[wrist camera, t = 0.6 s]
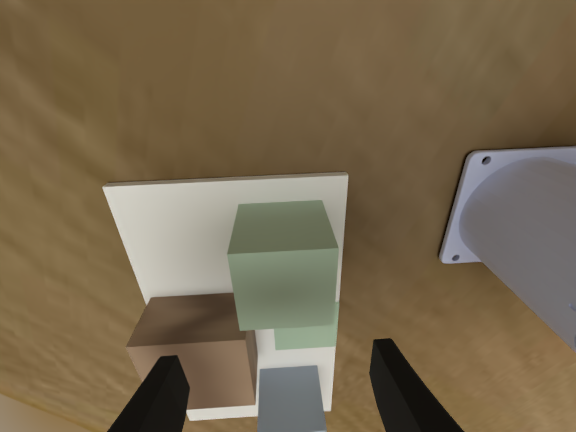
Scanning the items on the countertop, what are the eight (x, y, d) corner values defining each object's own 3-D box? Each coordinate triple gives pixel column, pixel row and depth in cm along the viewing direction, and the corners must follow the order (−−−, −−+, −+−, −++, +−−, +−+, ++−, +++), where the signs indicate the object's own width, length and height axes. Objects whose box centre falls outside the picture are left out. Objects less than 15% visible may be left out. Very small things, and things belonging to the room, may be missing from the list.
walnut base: (249, 291, 20) (245, 339, 17) (257, 354, 24) (255, 405, 20) (150, 297, 20) (125, 347, 17) (173, 359, 24) (156, 412, 20)
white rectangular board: (346, 171, 17) (348, 175, 16) (329, 404, 29) (330, 411, 29) (107, 182, 17) (101, 187, 16) (191, 414, 29) (189, 421, 28)
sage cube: (321, 199, 17) (339, 248, 13) (320, 265, 20) (333, 325, 15) (238, 204, 17) (227, 254, 13) (246, 269, 20) (239, 331, 15)
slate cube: (317, 365, 25) (326, 430, 21) (316, 397, 27) (324, 462, 23) (259, 368, 25) (257, 435, 20) (263, 401, 27) (262, 466, 23)
